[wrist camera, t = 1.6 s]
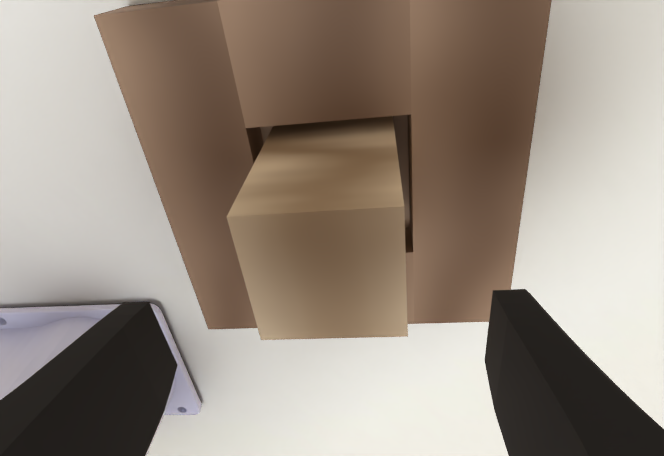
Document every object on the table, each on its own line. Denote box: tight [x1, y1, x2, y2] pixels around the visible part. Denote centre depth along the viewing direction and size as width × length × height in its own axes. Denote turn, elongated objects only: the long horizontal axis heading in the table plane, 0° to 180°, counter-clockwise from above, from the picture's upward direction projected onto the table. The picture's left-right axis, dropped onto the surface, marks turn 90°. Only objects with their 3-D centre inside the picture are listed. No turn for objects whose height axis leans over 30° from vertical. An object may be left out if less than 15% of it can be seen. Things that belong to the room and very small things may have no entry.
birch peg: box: [227, 116, 408, 340], centre depth 13 cm, size 4×4×6 cm
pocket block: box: [94, 0, 551, 329], centre depth 15 cm, size 12×12×2 cm
